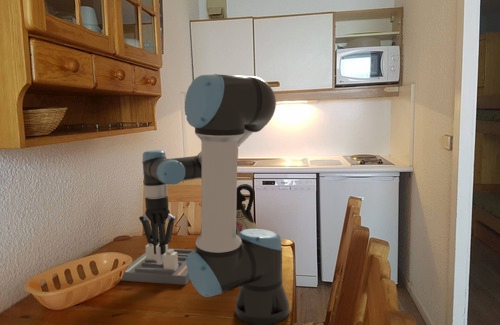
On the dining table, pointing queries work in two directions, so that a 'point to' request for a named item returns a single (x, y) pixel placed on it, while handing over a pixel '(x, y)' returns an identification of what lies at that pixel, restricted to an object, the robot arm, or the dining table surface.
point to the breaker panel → (158, 270)
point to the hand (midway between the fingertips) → (160, 262)
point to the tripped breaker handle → (170, 260)
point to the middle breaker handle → (150, 252)
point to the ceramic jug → (242, 215)
